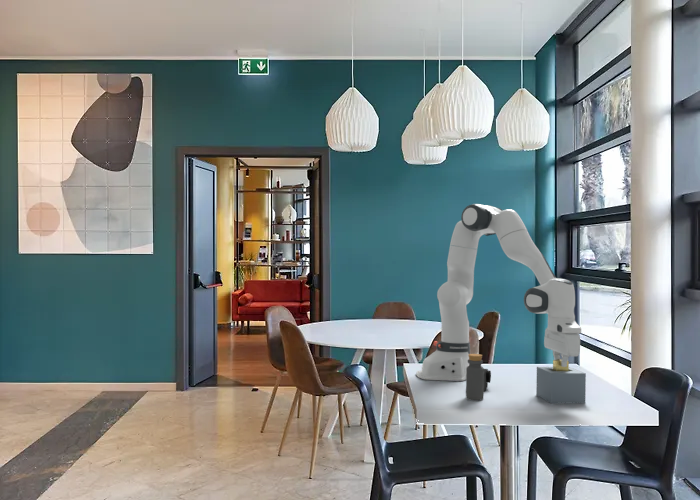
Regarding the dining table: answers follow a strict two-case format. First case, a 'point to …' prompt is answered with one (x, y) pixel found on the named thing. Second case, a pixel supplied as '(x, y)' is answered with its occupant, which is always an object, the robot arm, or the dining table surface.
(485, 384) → the digital camera
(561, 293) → the robot arm
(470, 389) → the bottle
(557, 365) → the block
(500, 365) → the dining table surface
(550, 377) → the box
